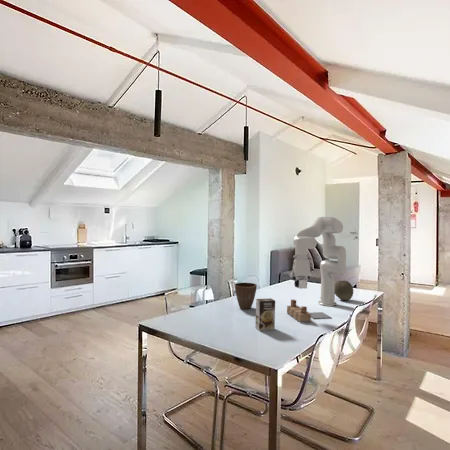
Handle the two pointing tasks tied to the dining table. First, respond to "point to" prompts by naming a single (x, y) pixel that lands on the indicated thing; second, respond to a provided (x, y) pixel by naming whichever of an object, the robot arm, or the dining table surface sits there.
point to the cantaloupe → (343, 290)
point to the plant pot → (245, 294)
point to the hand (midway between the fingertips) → (300, 286)
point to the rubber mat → (319, 315)
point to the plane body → (298, 312)
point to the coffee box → (265, 314)
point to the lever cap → (302, 283)
